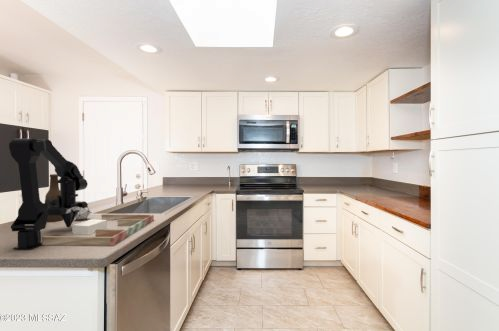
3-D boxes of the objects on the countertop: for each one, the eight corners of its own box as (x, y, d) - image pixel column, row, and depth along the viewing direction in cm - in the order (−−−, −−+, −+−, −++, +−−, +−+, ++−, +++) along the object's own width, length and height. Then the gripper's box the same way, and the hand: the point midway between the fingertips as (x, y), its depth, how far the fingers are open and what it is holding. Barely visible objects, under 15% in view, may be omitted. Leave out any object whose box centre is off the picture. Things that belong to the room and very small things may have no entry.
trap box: (113, 245, 99) (112, 237, 99) (41, 244, 100) (41, 237, 100) (153, 220, 139) (153, 214, 139) (102, 219, 140) (102, 214, 140)
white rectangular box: (88, 235, 114) (88, 226, 114) (72, 234, 115) (72, 225, 115) (106, 228, 124) (106, 220, 124) (92, 227, 126) (91, 219, 126)
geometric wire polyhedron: (82, 227, 139) (79, 214, 133) (69, 220, 140) (65, 208, 134) (96, 216, 146) (93, 203, 140) (84, 210, 147) (80, 197, 141)
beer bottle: (47, 219, 140) (46, 174, 140) (65, 218, 144) (64, 173, 143) (43, 222, 133) (42, 174, 132) (62, 221, 136) (61, 174, 136)
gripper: (65, 189, 129) (65, 221, 129) (33, 195, 110) (33, 232, 111) (87, 190, 129) (88, 222, 129) (59, 195, 110) (60, 232, 111)
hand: (68, 226), depth 120 cm, fingers closed
